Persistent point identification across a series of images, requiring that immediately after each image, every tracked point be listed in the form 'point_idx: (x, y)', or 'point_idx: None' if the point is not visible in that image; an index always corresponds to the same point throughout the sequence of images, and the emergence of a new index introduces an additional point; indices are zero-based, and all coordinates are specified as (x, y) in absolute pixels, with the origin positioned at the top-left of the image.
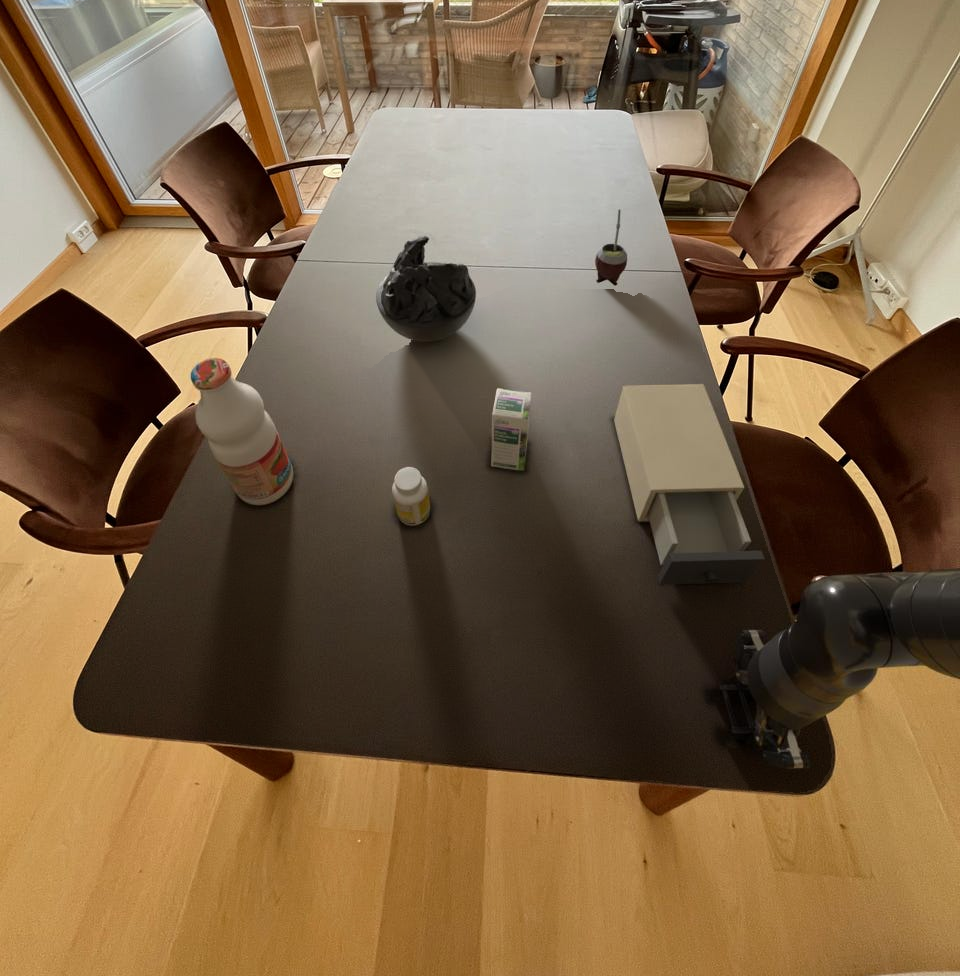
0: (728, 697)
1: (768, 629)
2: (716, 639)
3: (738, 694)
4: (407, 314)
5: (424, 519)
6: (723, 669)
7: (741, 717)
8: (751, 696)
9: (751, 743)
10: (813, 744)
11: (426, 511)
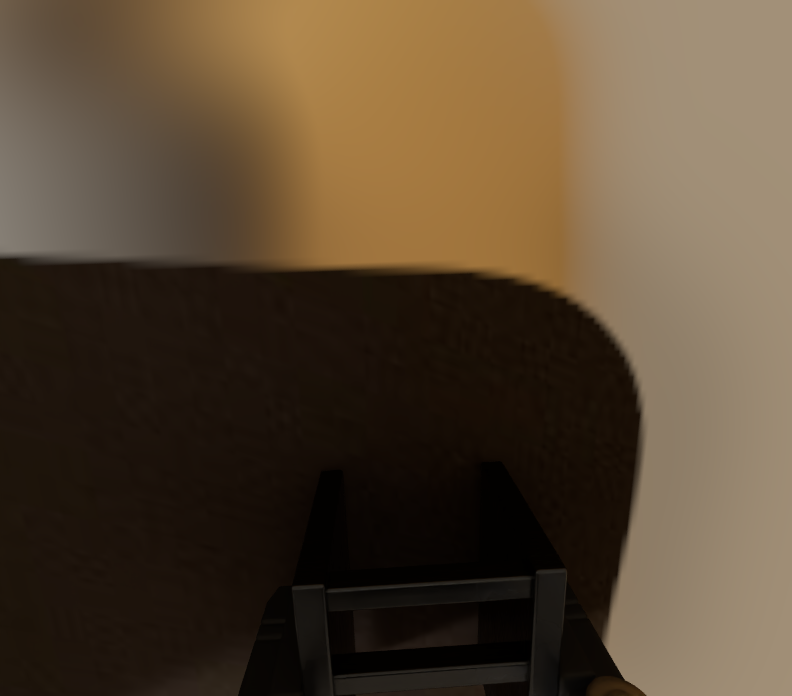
0: (352, 628)
1: (13, 351)
2: (115, 599)
3: (347, 647)
4: None
5: None
6: (241, 597)
7: None
8: (346, 548)
9: None
10: (526, 312)
11: None
